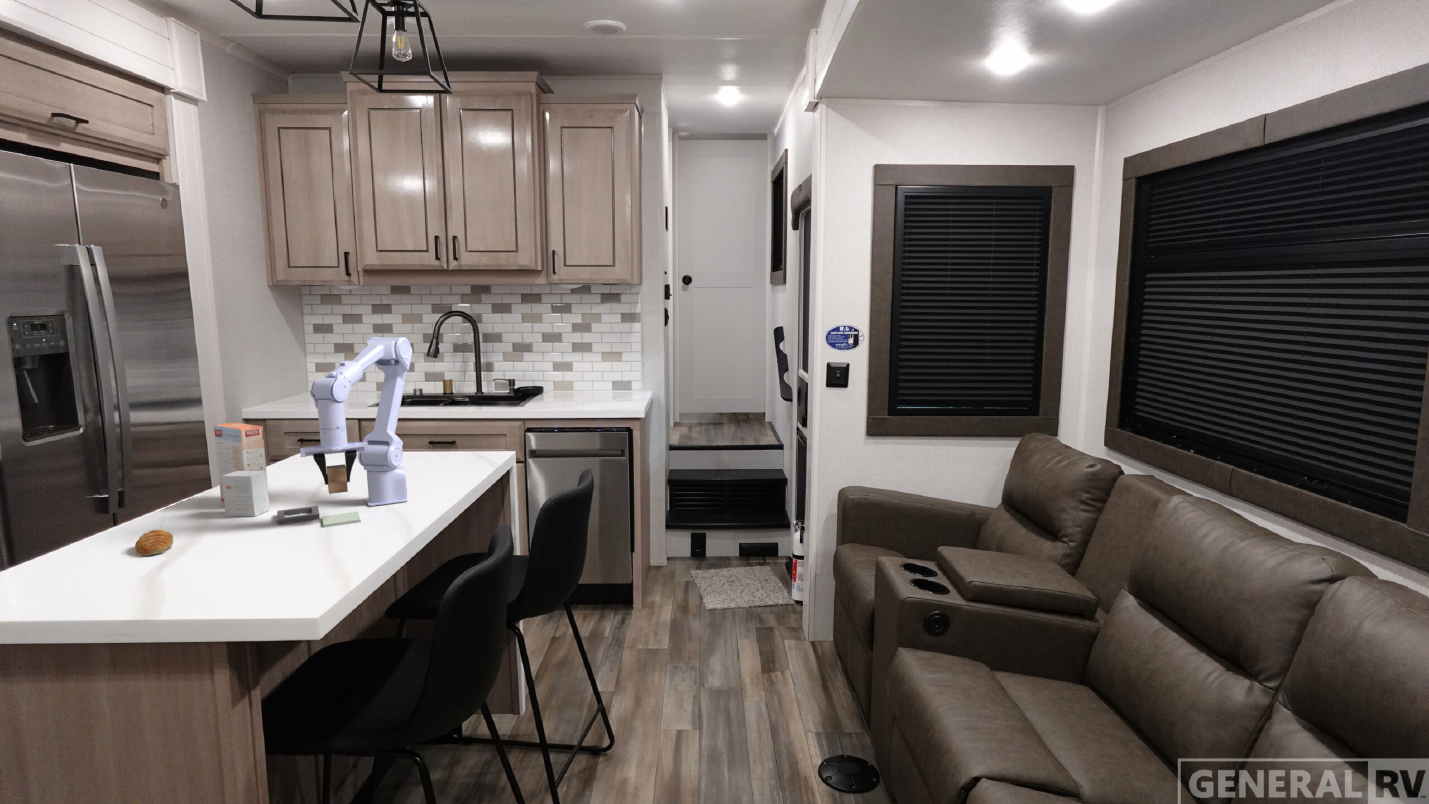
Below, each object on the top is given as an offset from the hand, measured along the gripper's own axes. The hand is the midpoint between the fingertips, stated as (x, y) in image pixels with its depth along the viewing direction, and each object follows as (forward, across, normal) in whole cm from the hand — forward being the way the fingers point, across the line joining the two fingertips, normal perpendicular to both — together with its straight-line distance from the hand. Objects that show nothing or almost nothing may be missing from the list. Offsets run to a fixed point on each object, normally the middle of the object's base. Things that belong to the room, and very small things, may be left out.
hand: (337, 482), depth 181 cm
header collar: (+9, -9, +8) cm, 15 cm away
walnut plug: (+2, 0, 0) cm, 2 cm away
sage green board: (+9, 0, 0) cm, 9 cm away
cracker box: (+10, -21, +32) cm, 39 cm away
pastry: (+10, -36, -3) cm, 38 cm away
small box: (+10, -20, +19) cm, 29 cm away
